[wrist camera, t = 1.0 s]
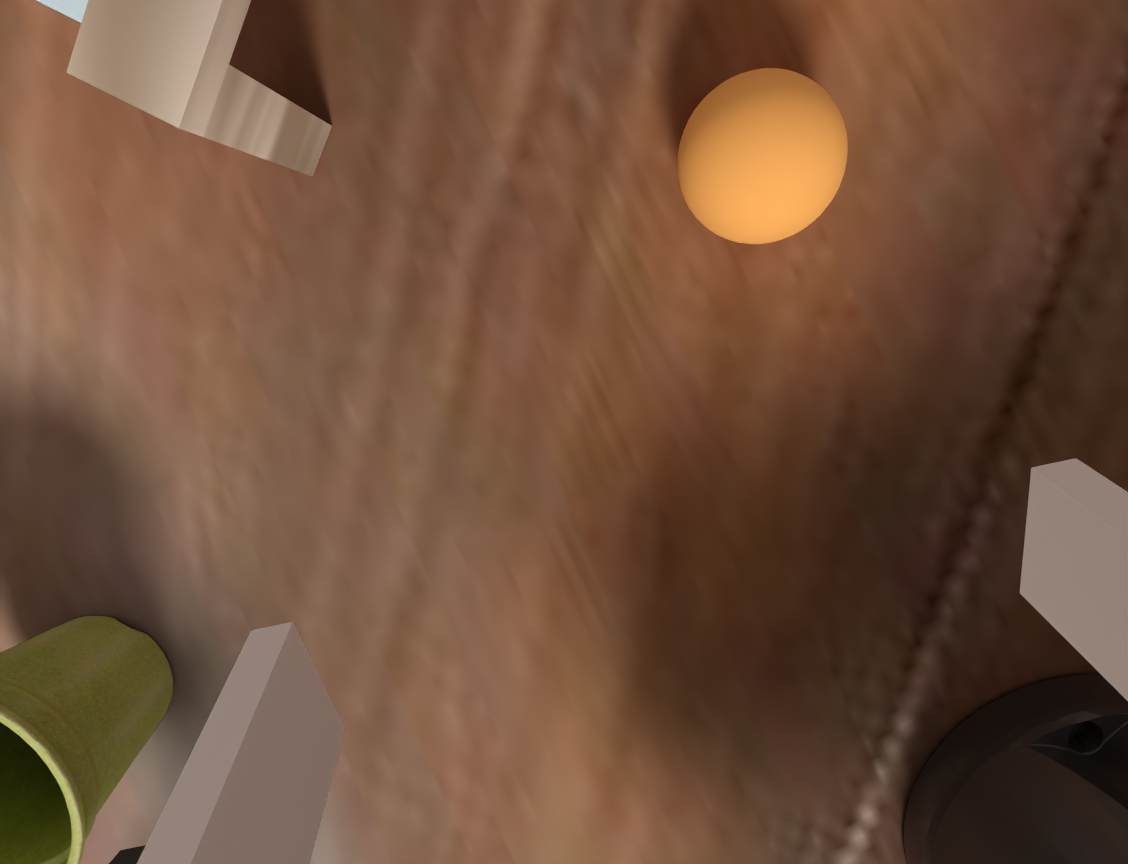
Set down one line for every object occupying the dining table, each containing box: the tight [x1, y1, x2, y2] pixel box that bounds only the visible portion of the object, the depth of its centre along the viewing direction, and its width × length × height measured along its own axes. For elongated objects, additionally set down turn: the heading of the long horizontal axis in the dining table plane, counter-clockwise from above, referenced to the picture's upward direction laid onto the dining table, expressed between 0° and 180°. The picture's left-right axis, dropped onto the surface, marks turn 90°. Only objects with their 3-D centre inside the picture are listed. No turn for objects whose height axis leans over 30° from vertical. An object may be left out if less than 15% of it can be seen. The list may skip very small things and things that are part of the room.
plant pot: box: [0, 616, 173, 864], centre depth 28 cm, size 9×9×9 cm
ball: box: [677, 68, 848, 244], centre depth 24 cm, size 6×6×6 cm
